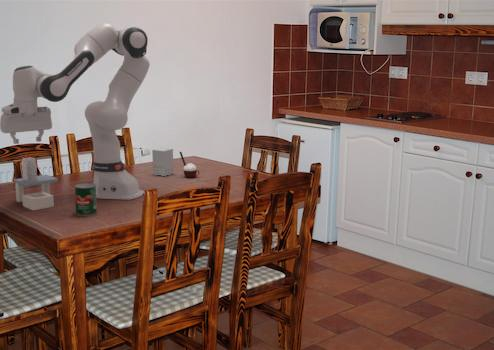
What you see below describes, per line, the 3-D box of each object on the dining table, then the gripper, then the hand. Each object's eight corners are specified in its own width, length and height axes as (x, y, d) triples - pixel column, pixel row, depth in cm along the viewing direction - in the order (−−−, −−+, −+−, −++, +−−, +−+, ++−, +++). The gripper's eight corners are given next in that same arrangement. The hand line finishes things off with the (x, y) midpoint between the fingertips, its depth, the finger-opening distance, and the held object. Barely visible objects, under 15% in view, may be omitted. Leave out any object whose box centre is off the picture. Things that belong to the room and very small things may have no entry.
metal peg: (37, 180, 266) (35, 158, 264) (27, 182, 263) (26, 159, 261) (32, 178, 269) (31, 157, 267) (23, 180, 266) (21, 158, 264)
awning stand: (69, 203, 266) (68, 182, 264) (32, 210, 256) (31, 187, 254) (47, 195, 279) (46, 174, 277) (12, 201, 269) (10, 179, 267)
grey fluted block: (173, 174, 322) (173, 148, 320) (164, 177, 316) (163, 151, 314) (162, 172, 326) (161, 147, 324) (152, 175, 320) (151, 149, 317)
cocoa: (200, 177, 317) (202, 153, 315) (192, 179, 312) (194, 154, 309) (185, 174, 322) (186, 150, 320) (177, 176, 317) (178, 151, 314)
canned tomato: (77, 216, 248) (76, 188, 245) (74, 211, 255) (72, 183, 252) (98, 214, 251) (97, 186, 248) (94, 209, 258) (93, 182, 256)
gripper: (46, 105, 269) (48, 139, 272) (-3, 108, 255) (-1, 143, 258) (54, 106, 265) (55, 141, 267) (4, 110, 251) (6, 146, 254)
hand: (27, 142), depth 263 cm, fingers open, 8 cm apart
